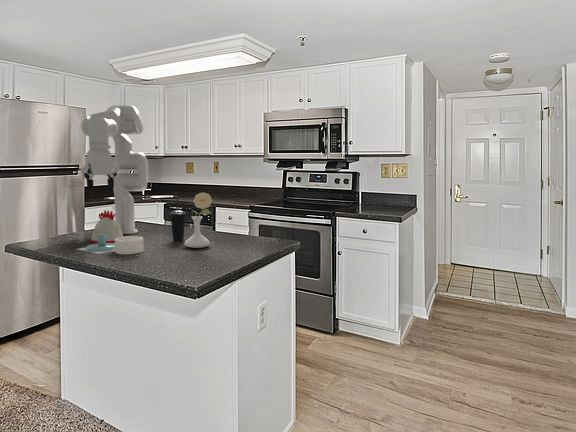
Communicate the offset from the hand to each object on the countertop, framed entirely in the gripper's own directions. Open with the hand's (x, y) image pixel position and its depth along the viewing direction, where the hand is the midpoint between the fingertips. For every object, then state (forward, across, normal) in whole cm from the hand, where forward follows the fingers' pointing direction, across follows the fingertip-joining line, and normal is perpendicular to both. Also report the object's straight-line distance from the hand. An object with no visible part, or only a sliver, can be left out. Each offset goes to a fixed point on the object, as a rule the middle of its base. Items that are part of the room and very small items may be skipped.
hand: (100, 188), depth 180 cm
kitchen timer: (+27, -13, -14) cm, 33 cm away
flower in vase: (+27, -27, +30) cm, 49 cm away
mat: (+26, 0, 0) cm, 27 cm away
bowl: (+26, -2, +14) cm, 30 cm away
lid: (+26, 0, 0) cm, 26 cm away
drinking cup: (+27, -34, +11) cm, 44 cm away
